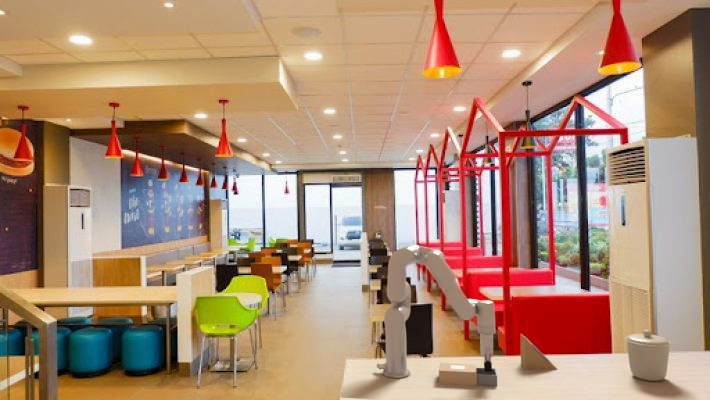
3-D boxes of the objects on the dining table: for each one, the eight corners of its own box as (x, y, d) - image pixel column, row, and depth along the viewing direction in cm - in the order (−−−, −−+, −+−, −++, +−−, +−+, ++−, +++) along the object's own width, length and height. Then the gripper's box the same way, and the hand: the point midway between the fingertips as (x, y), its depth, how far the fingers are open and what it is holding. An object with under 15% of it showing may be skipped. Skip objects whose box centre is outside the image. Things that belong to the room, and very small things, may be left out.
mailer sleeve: (439, 384, 224) (438, 370, 224) (440, 375, 235) (440, 362, 235) (476, 386, 221) (476, 372, 221) (476, 377, 232) (475, 364, 232)
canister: (669, 373, 234) (668, 327, 234) (674, 386, 217) (673, 336, 217) (624, 368, 241) (623, 323, 241) (626, 381, 225) (625, 332, 225)
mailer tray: (461, 383, 223) (461, 373, 223) (461, 376, 232) (461, 366, 232) (497, 385, 220) (496, 375, 220) (495, 378, 229) (495, 368, 229)
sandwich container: (558, 370, 241) (558, 338, 242) (525, 369, 243) (524, 337, 243) (553, 364, 250) (552, 333, 250) (520, 364, 251) (520, 333, 251)
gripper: (477, 325, 234) (478, 365, 233) (478, 333, 219) (479, 376, 219) (494, 325, 232) (495, 366, 232) (496, 333, 217) (498, 377, 217)
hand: (488, 371), depth 225 cm, fingers closed
